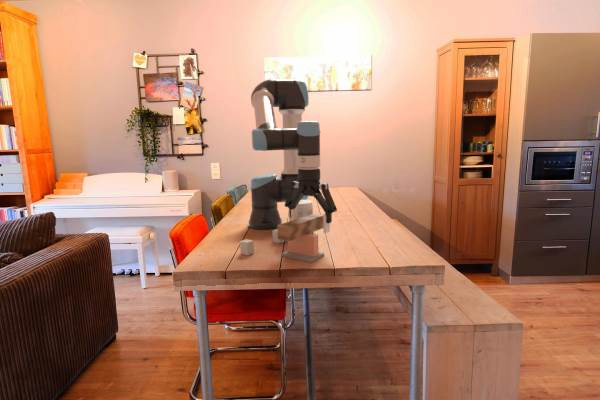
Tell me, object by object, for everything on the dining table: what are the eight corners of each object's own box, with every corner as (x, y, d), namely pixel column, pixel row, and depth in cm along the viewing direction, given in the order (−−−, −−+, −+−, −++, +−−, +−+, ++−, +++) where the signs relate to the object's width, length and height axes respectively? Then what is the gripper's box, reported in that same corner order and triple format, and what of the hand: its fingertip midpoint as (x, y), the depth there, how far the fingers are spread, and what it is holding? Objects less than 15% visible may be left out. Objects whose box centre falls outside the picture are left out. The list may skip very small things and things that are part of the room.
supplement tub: (306, 233, 150) (306, 198, 148) (317, 238, 142) (317, 202, 139) (285, 236, 146) (284, 200, 144) (295, 242, 138) (294, 204, 135)
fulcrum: (281, 255, 122) (281, 233, 121) (296, 249, 128) (295, 228, 127) (310, 262, 115) (310, 238, 114) (324, 255, 121) (323, 232, 120)
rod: (288, 241, 111) (288, 227, 110) (277, 239, 114) (277, 225, 113) (324, 227, 127) (324, 215, 126) (313, 225, 129) (313, 213, 129)
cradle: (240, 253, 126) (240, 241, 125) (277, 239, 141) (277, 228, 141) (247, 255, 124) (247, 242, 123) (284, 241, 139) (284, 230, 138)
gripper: (273, 167, 125) (275, 227, 128) (335, 170, 110) (335, 237, 114) (287, 166, 131) (288, 222, 134) (347, 168, 116) (347, 232, 119)
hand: (310, 229), depth 124 cm, fingers open, 13 cm apart
